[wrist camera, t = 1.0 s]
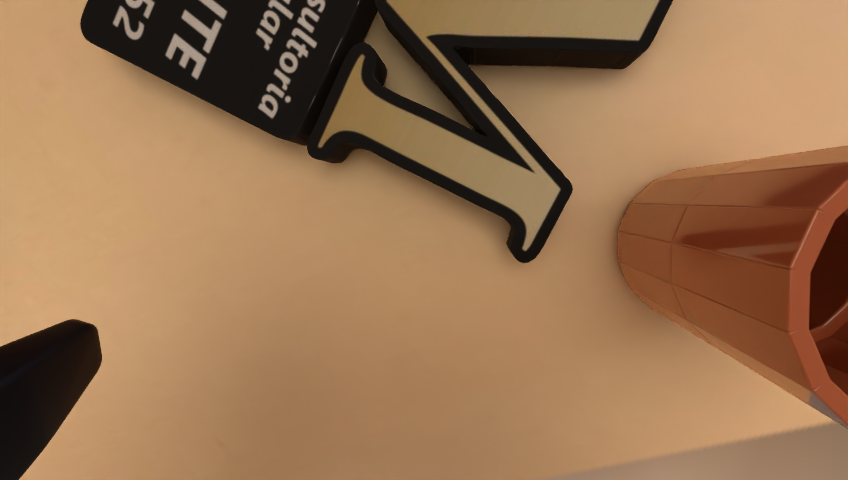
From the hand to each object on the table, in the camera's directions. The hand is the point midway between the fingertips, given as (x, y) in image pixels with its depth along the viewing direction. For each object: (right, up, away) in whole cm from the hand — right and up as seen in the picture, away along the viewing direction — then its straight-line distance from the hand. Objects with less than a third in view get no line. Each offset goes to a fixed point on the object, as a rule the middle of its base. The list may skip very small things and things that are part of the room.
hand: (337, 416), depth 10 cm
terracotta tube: (+12, +3, +13) cm, 18 cm away
